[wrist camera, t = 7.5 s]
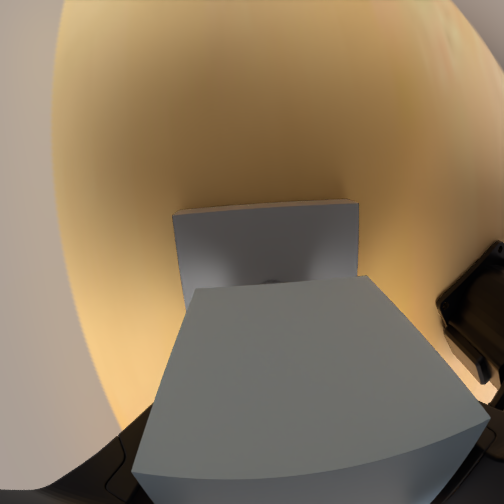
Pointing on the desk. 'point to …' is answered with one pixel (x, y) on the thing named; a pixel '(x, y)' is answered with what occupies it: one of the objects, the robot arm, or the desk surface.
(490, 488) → the robot arm
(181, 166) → the desk surface
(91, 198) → the desk surface
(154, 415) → the pale blue cube
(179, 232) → the base plate
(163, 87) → the desk surface
